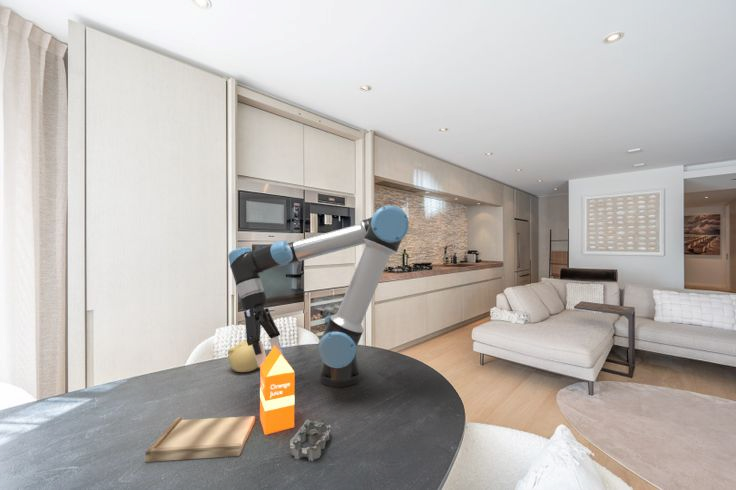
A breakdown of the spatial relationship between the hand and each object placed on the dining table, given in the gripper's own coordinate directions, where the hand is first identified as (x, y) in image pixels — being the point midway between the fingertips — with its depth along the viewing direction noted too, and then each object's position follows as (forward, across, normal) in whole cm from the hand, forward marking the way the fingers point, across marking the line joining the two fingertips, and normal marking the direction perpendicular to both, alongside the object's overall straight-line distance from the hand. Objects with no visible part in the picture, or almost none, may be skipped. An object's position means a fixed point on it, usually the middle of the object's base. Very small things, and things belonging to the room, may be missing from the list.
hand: (272, 361), depth 93 cm
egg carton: (+22, +16, +9) cm, 28 cm away
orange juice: (+16, +7, -1) cm, 17 cm away
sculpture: (+1, -28, -22) cm, 36 cm away
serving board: (+11, +15, -15) cm, 24 cm away
